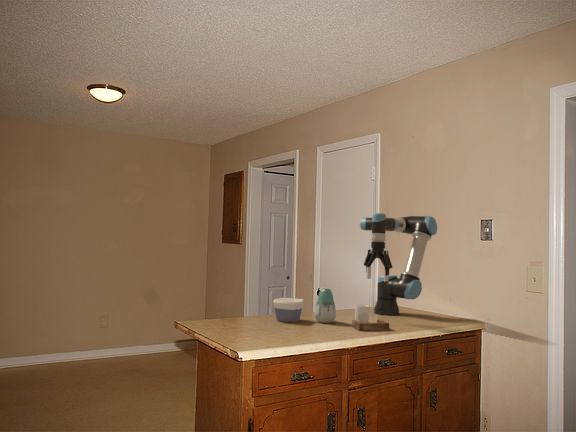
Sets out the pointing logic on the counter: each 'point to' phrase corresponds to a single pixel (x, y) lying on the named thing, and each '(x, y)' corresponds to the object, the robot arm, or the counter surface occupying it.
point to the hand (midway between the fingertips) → (377, 280)
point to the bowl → (288, 309)
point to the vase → (325, 307)
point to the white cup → (362, 313)
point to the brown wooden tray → (370, 325)
